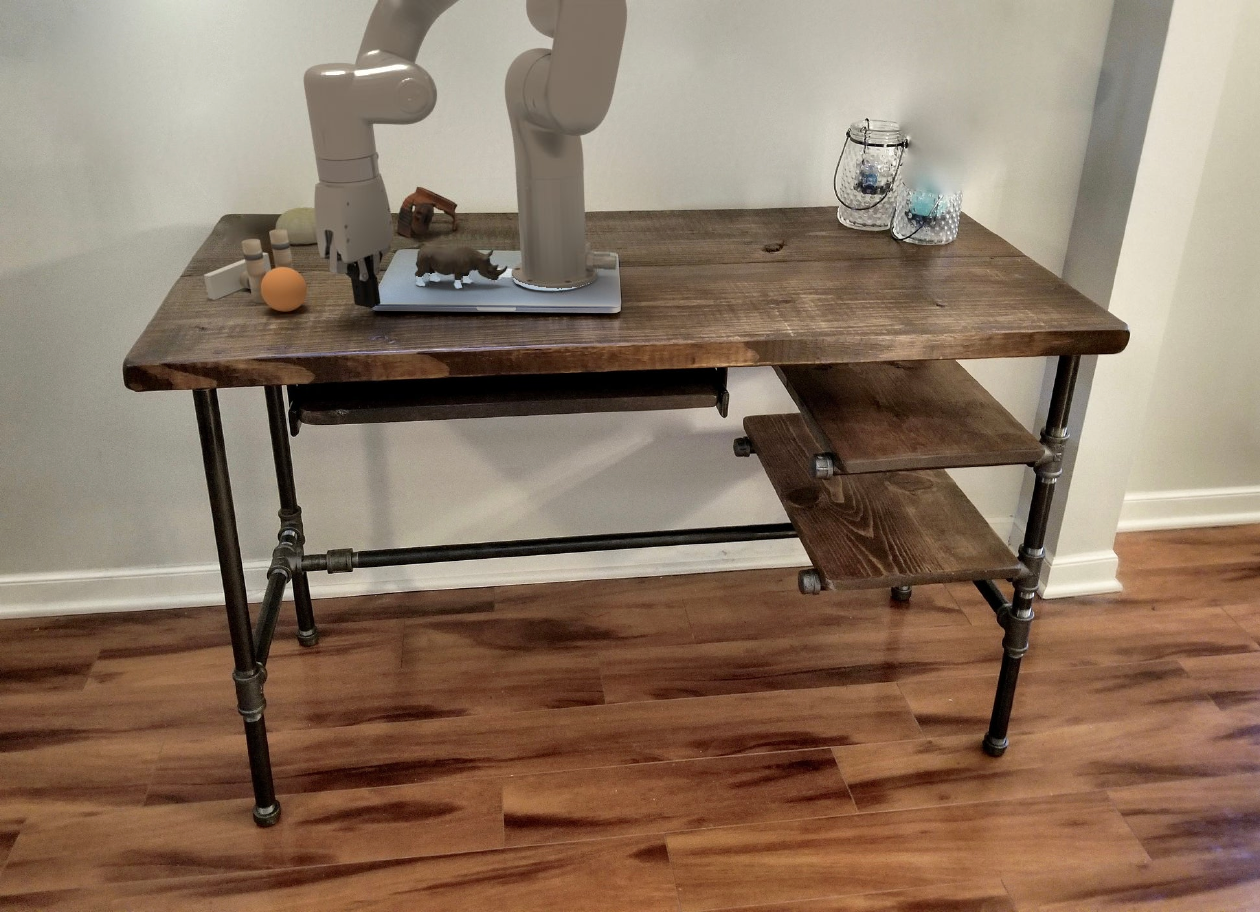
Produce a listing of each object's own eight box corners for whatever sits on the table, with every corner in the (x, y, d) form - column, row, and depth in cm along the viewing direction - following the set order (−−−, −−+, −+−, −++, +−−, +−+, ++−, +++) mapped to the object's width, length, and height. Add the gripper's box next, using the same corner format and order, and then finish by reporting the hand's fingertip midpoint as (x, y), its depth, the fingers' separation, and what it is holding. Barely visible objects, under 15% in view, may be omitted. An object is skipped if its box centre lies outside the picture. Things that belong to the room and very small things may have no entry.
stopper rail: (272, 276, 155) (268, 253, 153) (214, 300, 146) (209, 276, 145) (266, 274, 155) (262, 252, 154) (208, 298, 147) (203, 275, 145)
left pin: (274, 297, 147) (263, 239, 143) (267, 303, 145) (255, 244, 141) (257, 296, 147) (245, 238, 143) (249, 303, 145) (238, 244, 141)
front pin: (297, 282, 147) (254, 272, 151) (284, 279, 145) (241, 269, 149) (294, 299, 148) (251, 289, 151) (281, 296, 145) (238, 286, 149)
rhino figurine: (504, 292, 148) (501, 252, 145) (412, 288, 150) (407, 248, 147) (511, 282, 152) (509, 243, 149) (421, 279, 153) (417, 239, 150)
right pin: (300, 286, 151) (290, 229, 147) (293, 292, 149) (283, 234, 145) (283, 285, 151) (273, 228, 147) (276, 291, 149) (265, 234, 145)
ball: (274, 271, 145) (315, 272, 144) (272, 314, 145) (313, 315, 144) (253, 262, 139) (296, 263, 138) (251, 307, 139) (294, 308, 138)
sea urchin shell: (324, 237, 165) (285, 201, 163) (297, 269, 169) (259, 234, 167) (348, 220, 173) (311, 185, 171) (323, 251, 177) (286, 217, 175)
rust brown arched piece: (395, 227, 177) (413, 182, 175) (446, 251, 179) (465, 206, 177) (387, 230, 165) (406, 182, 164) (442, 255, 167) (462, 208, 166)
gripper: (364, 152, 138) (382, 283, 147) (283, 178, 127) (307, 318, 136) (409, 158, 135) (424, 291, 144) (329, 186, 124) (351, 328, 133)
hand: (367, 304), depth 140 cm, fingers closed
